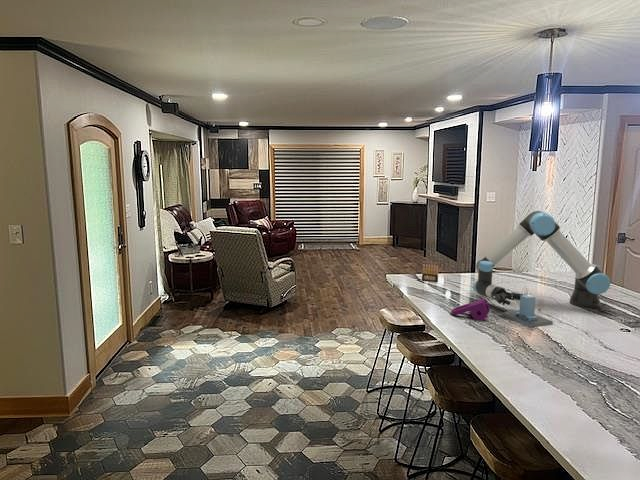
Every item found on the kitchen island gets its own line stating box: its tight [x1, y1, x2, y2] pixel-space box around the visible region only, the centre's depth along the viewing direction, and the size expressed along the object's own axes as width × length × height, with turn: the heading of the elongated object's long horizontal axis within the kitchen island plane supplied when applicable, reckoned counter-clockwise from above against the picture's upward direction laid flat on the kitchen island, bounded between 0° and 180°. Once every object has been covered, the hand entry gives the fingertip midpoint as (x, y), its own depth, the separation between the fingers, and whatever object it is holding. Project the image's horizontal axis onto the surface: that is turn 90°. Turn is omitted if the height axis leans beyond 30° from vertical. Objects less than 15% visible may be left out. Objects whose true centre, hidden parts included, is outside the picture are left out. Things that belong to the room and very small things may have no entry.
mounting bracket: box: [450, 297, 491, 321], centre depth 245 cm, size 9×8×18 cm
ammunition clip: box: [421, 263, 439, 283], centre depth 320 cm, size 11×2×12 cm, turn 67°
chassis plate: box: [501, 310, 554, 328], centre depth 241 cm, size 20×14×2 cm
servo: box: [515, 294, 538, 320], centre depth 240 cm, size 10×5×13 cm, turn 21°
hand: (526, 303), depth 240 cm, fingers open, 13 cm apart
